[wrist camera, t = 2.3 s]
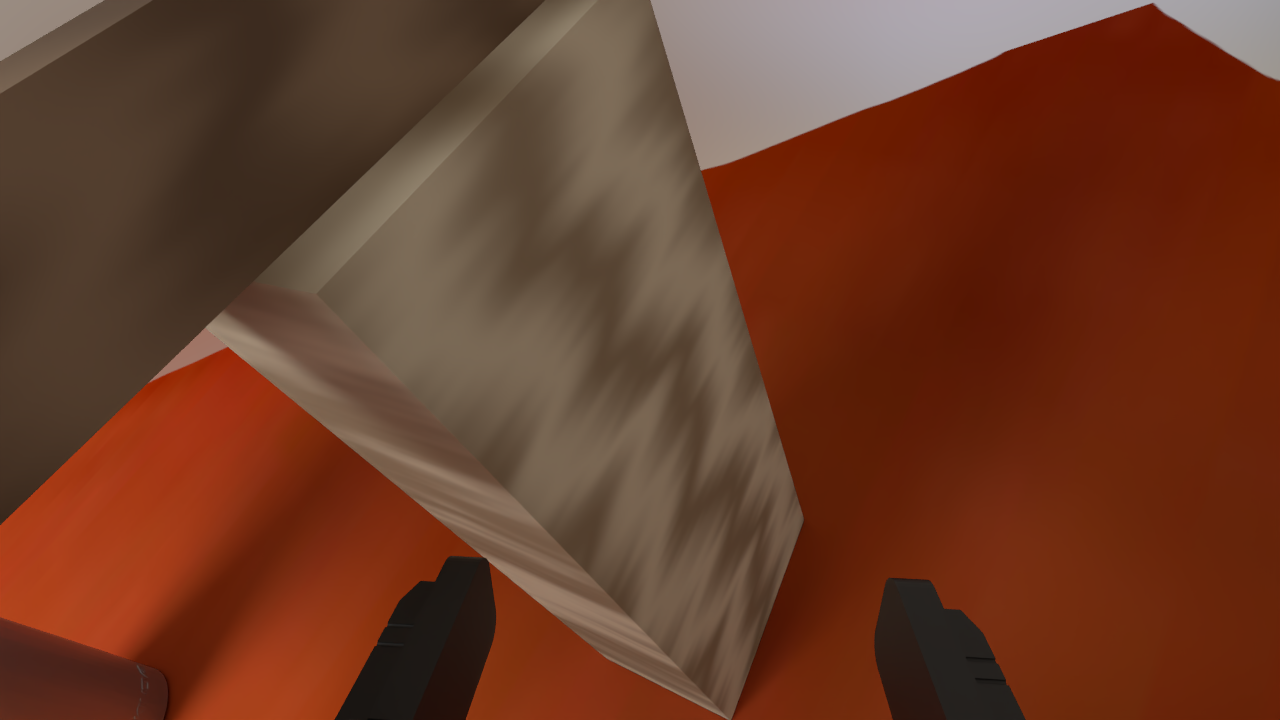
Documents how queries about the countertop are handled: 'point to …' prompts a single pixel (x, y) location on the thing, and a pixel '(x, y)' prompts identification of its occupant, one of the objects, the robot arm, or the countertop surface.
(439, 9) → the long wooden bar
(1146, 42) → the countertop surface
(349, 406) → the tall stand
